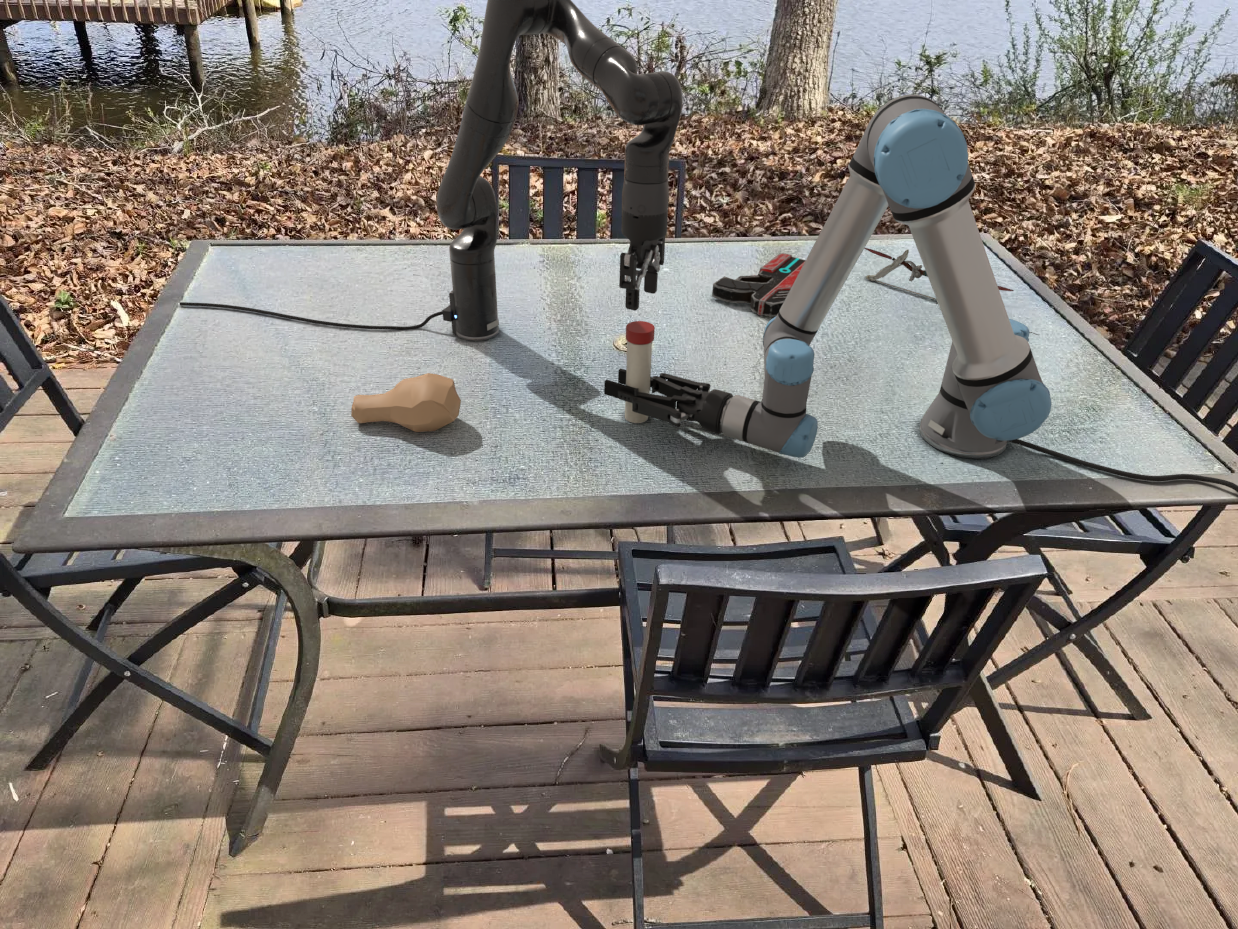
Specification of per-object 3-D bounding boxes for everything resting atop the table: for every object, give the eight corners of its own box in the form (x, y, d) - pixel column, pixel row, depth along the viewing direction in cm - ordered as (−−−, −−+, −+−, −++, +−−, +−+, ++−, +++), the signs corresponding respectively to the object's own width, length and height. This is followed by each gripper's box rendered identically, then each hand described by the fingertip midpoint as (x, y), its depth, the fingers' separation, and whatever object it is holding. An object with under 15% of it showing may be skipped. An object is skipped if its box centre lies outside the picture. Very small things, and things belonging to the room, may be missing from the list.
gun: (708, 284, 207) (784, 305, 199) (760, 245, 229) (831, 262, 221) (706, 302, 209) (781, 323, 201) (758, 261, 231) (828, 278, 223)
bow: (1006, 319, 205) (1018, 279, 199) (1003, 322, 204) (1015, 281, 198) (860, 274, 226) (867, 237, 221) (856, 276, 225) (863, 238, 220)
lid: (636, 347, 152) (636, 335, 151) (620, 336, 156) (620, 324, 154) (659, 340, 155) (660, 329, 153) (643, 330, 158) (643, 318, 157)
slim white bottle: (633, 425, 162) (637, 336, 152) (620, 415, 165) (622, 327, 155) (653, 419, 164) (657, 331, 154) (639, 408, 167) (643, 321, 157)
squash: (461, 438, 156) (449, 399, 150) (353, 447, 158) (336, 409, 152) (469, 400, 164) (458, 361, 158) (366, 408, 166) (350, 370, 160)
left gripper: (640, 191, 149) (637, 282, 158) (605, 214, 138) (604, 311, 147) (682, 197, 146) (676, 290, 155) (649, 222, 135) (645, 320, 144)
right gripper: (705, 456, 149) (587, 419, 158) (744, 411, 162) (634, 379, 171) (708, 418, 145) (588, 382, 154) (749, 375, 158) (635, 345, 167)
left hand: (641, 300), depth 151 cm, fingers open, 7 cm apart
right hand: (612, 381), depth 163 cm, fingers closed on slim white bottle, 4 cm apart
